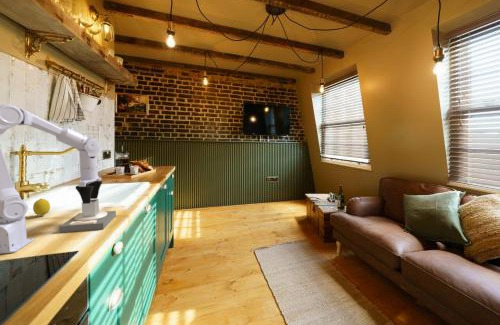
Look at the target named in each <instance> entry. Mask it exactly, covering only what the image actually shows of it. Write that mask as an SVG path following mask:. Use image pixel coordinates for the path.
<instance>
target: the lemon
mask: <svg viewBox="0 0 500 325" xmlns="http://www.w3.org/2000/svg"><path fill="white" fill-rule="evenodd" d="M32 210H33V212H34V214H35V215H37V216H40V217H44V216H45V215H47V214H48V213H49V212H50V210H51V205H50V202H49V200H47V199H45V198H39V199H37V200H36V201H35V202H34V203H33V206H32Z"/></svg>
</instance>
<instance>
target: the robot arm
mask: <svg viewBox="0 0 500 325" xmlns="http://www.w3.org/2000/svg"><path fill="white" fill-rule="evenodd" d="M17 126H29V127H31V128H35V129H37V130H39V131H41V132H44V133H47V134H50V135H52V136H54V137H55V138H56V140H57V142H59V143H63V144H64V145H68V146H70V147H72V148H74V149H75V150H77V151H78V152H79V170H80V179H79V181H78V185H76V186H75V190H76V191H77V192H78V194H79V196H80V198H81V203H82V202H83V204H88V203H90V201H91V200H92V199H98V196H99V192H100V188H101V187H102V184H103V181H102V178H101V177H100V176H99V173H98V172H99V171H98V152H99V150H100V148H101V144H99V142H98V140H97V139H96V138H94V137H88V135H87V134H85V133H83V134H82V133H80V132H77V131H76V130H75V128H74V127H72V126H71V127H67V126H65V127H62V128H61V127H59V126H57V125H55V124H53V123H51V122H49V121H47V120H46V119H44V118H42V117H40V116H37V115H36V114H33V113H32V112H30V111H28V110H25V109H22V108H19V107H17V106H15V105H13V104H9V103H5V104H0V136H1V135H4V133H5V132H6V131H7V130H9V129H11V128H14V127H17ZM28 208H29V207H28V204H27V203H26V202H25V201H24V200H22V197H21V194H19V192H18V190H16V188H15V186H14V183H13V180H12V177H11V174H10V171H9V168H8V165H7V162H6V159H5V155H4V153H3V150H2V146H1V145H0V255H1V254H2V255H3V254H12V253H16V252H18V251H19V250H20V249H22V248H23V247H25V246H26V245H28V244H30V243H31V242H33V241H34V240H35V238H34V237H31V238H27V237H28V235H27V226H26V225H27V223H26V214H27V212H28Z"/></svg>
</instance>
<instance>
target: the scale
mask: <svg viewBox="0 0 500 325" xmlns="http://www.w3.org/2000/svg"><path fill="white" fill-rule="evenodd" d="M116 217H117V211H116V210H110V211H109V210H108V211H104V210H99V214H98V215H96V216H95V217H82V212H78V213H77V214H76V215H75V216H72V217H71V218H70V219H68V220H67V221H65V222H64V223H63V224H61V225H59V233H62V234H63V233H72V232H73V233H75V232H86V231H98V230H101V231H102V230H105V229H106V227H107V226H108V225H110V223H111V222H113V220H114V219H115V218H116Z"/></svg>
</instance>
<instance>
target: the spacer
mask: <svg viewBox="0 0 500 325" xmlns="http://www.w3.org/2000/svg"><path fill="white" fill-rule="evenodd" d="M99 211H100V203H99V198H97V199H91V201H90V203H88V204H83V202H82V201H81V213H82V217H95V216H96V215H98V214H99Z"/></svg>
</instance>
